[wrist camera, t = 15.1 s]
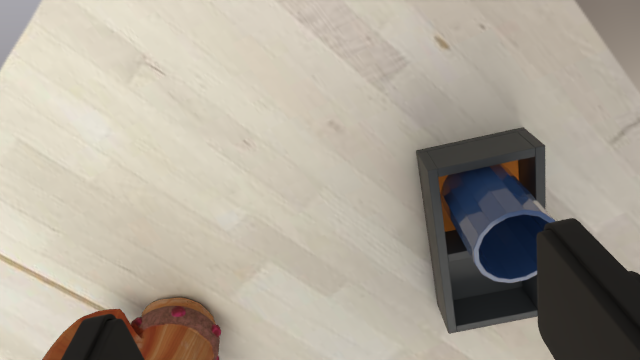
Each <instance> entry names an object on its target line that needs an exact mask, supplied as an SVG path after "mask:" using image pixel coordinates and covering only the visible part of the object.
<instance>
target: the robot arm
mask: <svg viewBox="0 0 640 360" xmlns="http://www.w3.org/2000/svg"><path fill="white" fill-rule="evenodd" d="M537 297H538V327H539V331H540V334H541V336H542V339H543V341H544V342H545V344H546V346H547V347H548V349H549V350H550V352H551V354H552V355H553V357H554V359H555V360H640V275H639V274H638V273H636V272H633V271H627V270H626V269H625V268H624V267H623V266H622V265H621V264H620V263H619V262H618V261H617V260H616V259H615V258H614V257H613V256H612V255H611V254H610V253H609V252H608V251H607V250H606V249H605V248H604V247H603V246H602V245H601V244H600V243H599V242H598V241H597V240H596V239H595V238H594V237H593V236H592V235H591V234H590V233H589V232H588V231H587V230H586V229H585V228H584V227H583V225H582V224H581V223H580V222H579V221H577V220H576V219H574V218H571V219H566V220H561V221H556V222H551V223H547V224H545V226H544V231H541V232H538V233H537ZM61 360H145V359H144V357H143V356H142V354H141V352H140V350H139V348H138V346H137V344H136V343H135V341H134V339H133V337H132V335H131V333H130V331H129V330H128V328H127V326H126V324H125V322H124V321H123V320H122V319H119V318H118V319H117V318H116V317H115V316H114V315H113V314H106V315H101V316H96V317H91V318H86V319H85V320H83V321H82V322H81V324H80V326H79V327H78V329H77V331H76V333H75V335H74V337H73V338H72V340H71V342H70V344H69V346H68V347H67V349H66V351H65V353H64V355H63V357H62V358H61Z"/></svg>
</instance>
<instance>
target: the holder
mask: <svg viewBox="0 0 640 360" xmlns="http://www.w3.org/2000/svg"><path fill="white" fill-rule="evenodd" d="M416 153H417V160H418V167H419V174H420V182H421V189H422V196H423V203H424V210H425V218H426V225H427V232H428V239H429V246H430V254H431V261H432V268H433V275H434V282H435V290H436V297H437V304H438V307H439V310H440V312H441V315H442V318H443V320H444V323H445V325H446V328H447V331H448V333H449V334H450V333H455V332H460V331H465V330H470V329H475V328H480V327H485V326H491V325H496V324H501V323H506V322H511V321H516V320H521V319H526V318H531V317H536V316H538V297H537V275H535V276H533V277H531V278H529V279H527V280H523V281H518V282H513V283H505V282H496V281H493V280H491V279H490V278H488V277H486V276H484V275H482V274H481V272H480V271H479V269H478V268H477V266H476V265H475V263H474V262H473V260H472V258H471V256H470V254H469V252H468V251H467V249H466V247H465V245H464V243H463V241H462V240H461V238H460V236H459V234H458V232H457V230H456V229H455V227H454V225H453V223H452V221H451V220H450V218H449V216H448V214H447V212H446V210H445V209H444V206H443V203H442V199H441V190H442V186H443V183H444V181H445V179H446V178H447V176H448V175H451V174H456V173H460V172H465V171H470V170H474V169H479V168H484V167H488V166H493V165H498V164H503V165H504V166H505V167H506V168H508V169H509V171H510V172H511V173H512V174H513V175H514V176H515V177H516V178H517V179H518V180H519V182H520V183H521V184H522V185H523V186H524V187H525V188H526V189H527V190H528V191H529V192H530V194H531V195H532V196H533V197H534V198H535V199H536V200H537V201H538V202H539V203H540V205H541V206H542V207H543V208H544V209H545V145H544V144H542V143H541V142H540V141H539V140H538V139H537V138H535V137H534V136H533V135H532V134H531V133H529V132H528V131H527V130H526V129H525V128H518V129H514V130H509V131H505V132H500V133H495V134H491V135H486V136H482V137H477V138H472V139H468V140H463V141H459V142H454V143H450V144H445V145H440V146H436V147H431V148H427V149H422V150H417V151H416Z"/></svg>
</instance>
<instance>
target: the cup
mask: <svg viewBox="0 0 640 360" xmlns="http://www.w3.org/2000/svg"><path fill="white" fill-rule="evenodd" d="M441 199H442V203H443V206H444V209H445V210H446V212H447V214H448V216H449V218H450V220H451V221H452V223H453V225H454V227H455V229H456V230H457V232H458V234H459V236H460V238H461V240H462V241H463V243H464V245H465V247H466V249H467V251H468V252H469V254H470V256H471V258H472V260H473V262H474V263H475V265H476V266H477V268H478V269H479V271H480V272H481V274H482V275H484V276H486V277H488V278H490V279H491V280H493V281H496V282H505V283H513V282H518V281H523V280H527V279H529V278H531V277H533V276H535V275H537V233H538V232H541V231H544V226H545V224H547V223H551V222H555V220H554V219H553V218H552V217H551V216H550V214H549V213H548V212H547V211H546V210H545V209H544V208H543V207H542V206H541V205H540V203H539V202H538V201H537V200H536V199H535V198H534V197H533V196H532V195H531V194H530V192H529V191H528V190H527V189H526V188H525V187H524V186H523V185H522V184H521V183H520V182H519V180H518V179H517V178H516V177H515V176H514V175H513V174H512V173H511V172H510V171H509V169H508V168H506V167H505V166H504V165H503V164H498V165H493V166H488V167H484V168H479V169H474V170H470V171H465V172H460V173H456V174H451V175H448V176H447V178H446V179H445V181H444V183H443V186H442V190H441Z"/></svg>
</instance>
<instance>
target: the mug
mask: <svg viewBox="0 0 640 360" xmlns="http://www.w3.org/2000/svg"><path fill="white" fill-rule="evenodd" d="M106 314H113V315H114V316H115V317H116V318H117V319H118V318H119V319H122V320H123V321H124V322H125V324H126V326H127V328H128V330H129V331H130V333H131V335H132V337H133V339H134V341H135V343H136V344H137V346H138V348H139V350H140V352H141V354H142V356H143V357H144V359H145V360H219V356H218V351H219V335H220V334H221V330H220V327H219V326H218V325H216V324H215V321H214V318H213V316H212V315H211V314H210V313H209V312H208V311H207V310H206V309H205V308H204V307H203V306H202V305H201V304H200V303H197V302H195V301H193V300H190V299H186V298H170V299H162V300H158V301H154V302H153V303H151V304H150V305H148V306H147V307H146V308H145V310H144V311H143V312H142V317H140V318H136V319H135V320H133V321H132V323H131V325H130V323H129V321H128V320H127V318H126V316H125V314H124V313H123V312H122V311H121V310H120V309H109V310H103V311H98V312H95V313H92V314H89V315H86V316H84V317H82V318H80V319H78V320H77V321H76V322H75V323H73V324H72V325H71V326H70V327H69V328H68V329H67V330H66V331H64V332H63V333H62V334H61V336H60V337H59V338H58V339H57V340H56V342H55V343H54V344H53V345H52V347H51V348H50V349H49V351H48V352H47V354H46V355H45V356H44V358H43V359H42V360H61V358H62V357H63V355H64V353H65V351H66V349H67V347H68V346H69V344H70V342H71V340H72V338H73V337H74V335H75V333H76V331H77V329H78V327H79V326H80V324H81V322H82V321H83V320H85V319H86V318H91V317H96V316H101V315H106Z"/></svg>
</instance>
